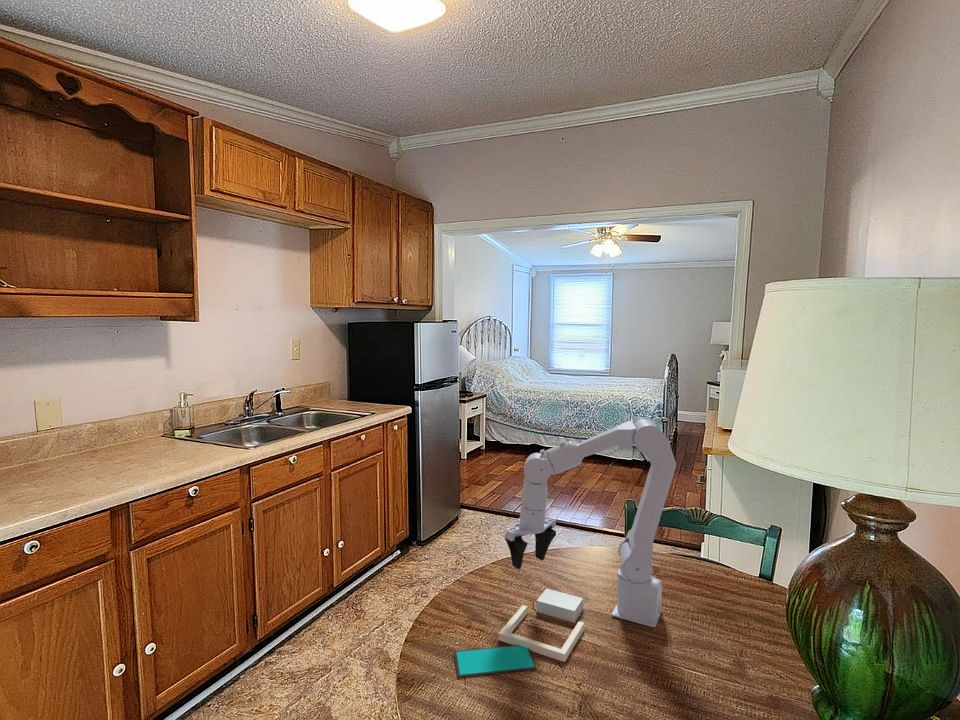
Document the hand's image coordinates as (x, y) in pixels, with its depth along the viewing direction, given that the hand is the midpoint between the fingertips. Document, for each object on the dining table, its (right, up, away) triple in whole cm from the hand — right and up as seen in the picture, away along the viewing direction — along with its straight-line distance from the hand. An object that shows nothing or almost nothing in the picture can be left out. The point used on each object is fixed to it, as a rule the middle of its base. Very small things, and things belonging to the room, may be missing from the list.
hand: (528, 562), depth 123 cm
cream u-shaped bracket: (+2, -11, -10) cm, 15 cm away
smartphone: (-8, -13, -19) cm, 24 cm away
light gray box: (+7, -11, -2) cm, 13 cm away
